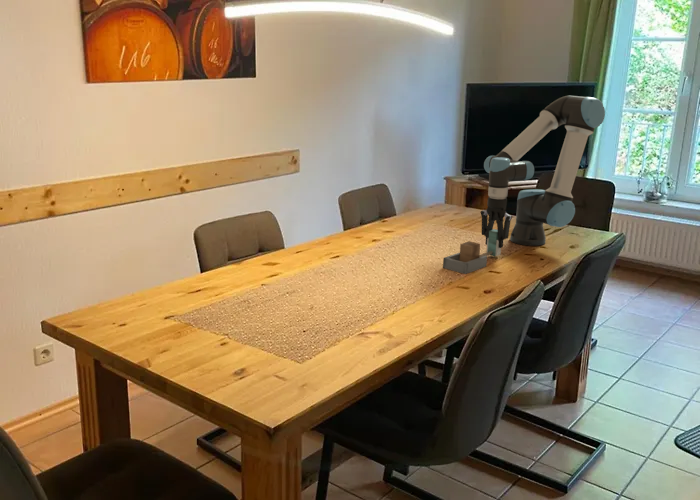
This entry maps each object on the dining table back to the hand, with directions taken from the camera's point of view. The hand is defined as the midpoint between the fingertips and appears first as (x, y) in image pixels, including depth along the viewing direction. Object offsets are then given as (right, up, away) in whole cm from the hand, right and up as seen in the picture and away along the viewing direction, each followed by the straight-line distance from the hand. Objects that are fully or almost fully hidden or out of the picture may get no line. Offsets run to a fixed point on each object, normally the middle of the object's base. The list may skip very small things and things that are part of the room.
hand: (493, 253), depth 279 cm
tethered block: (-6, -2, -6) cm, 9 cm away
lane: (-14, -5, -14) cm, 20 cm away
